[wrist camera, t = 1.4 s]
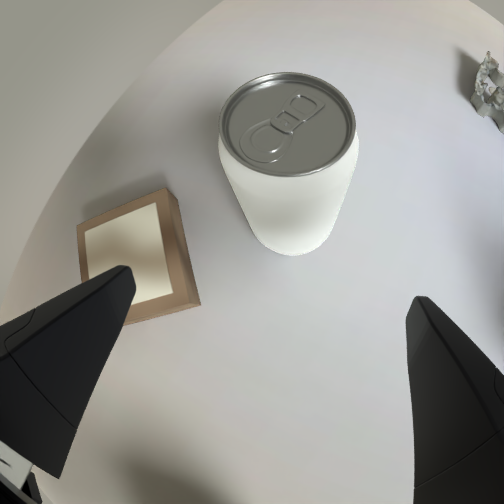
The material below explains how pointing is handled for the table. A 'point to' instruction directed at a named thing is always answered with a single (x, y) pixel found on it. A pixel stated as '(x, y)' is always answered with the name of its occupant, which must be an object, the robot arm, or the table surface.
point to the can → (289, 157)
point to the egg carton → (500, 103)
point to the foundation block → (142, 253)
